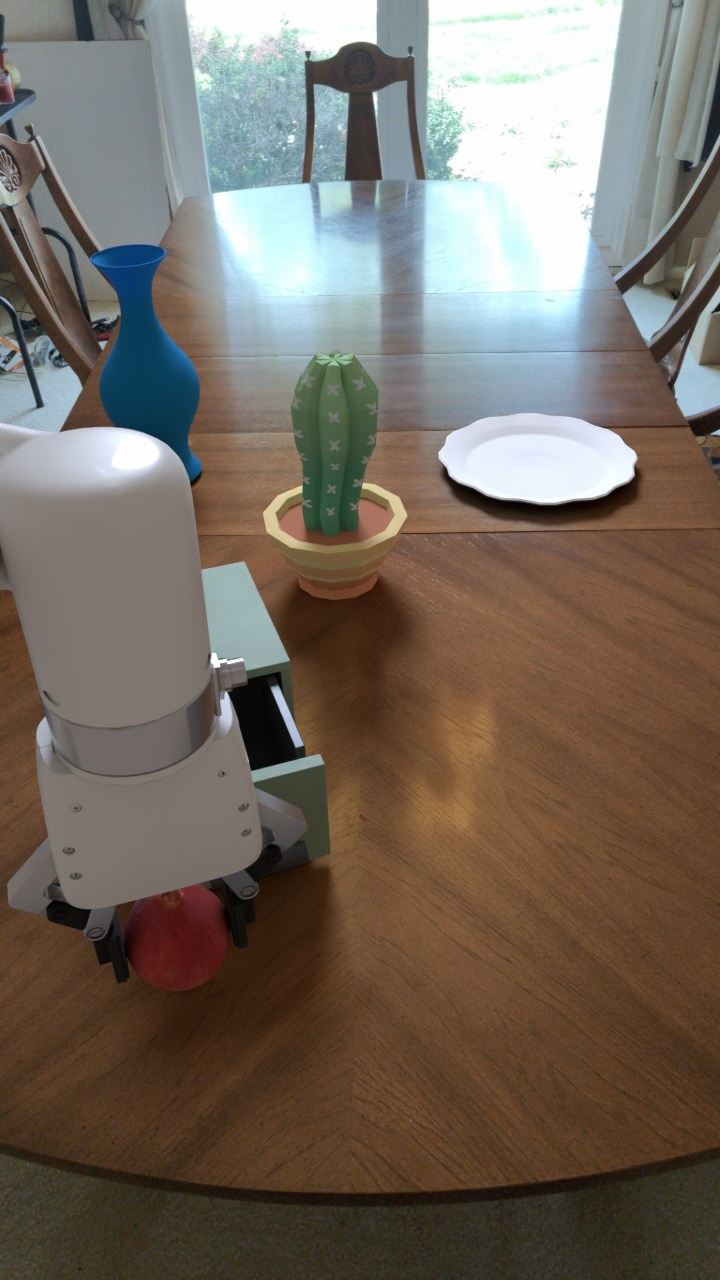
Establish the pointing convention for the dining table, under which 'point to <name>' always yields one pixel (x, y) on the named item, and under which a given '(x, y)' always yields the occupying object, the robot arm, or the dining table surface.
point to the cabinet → (244, 626)
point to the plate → (538, 459)
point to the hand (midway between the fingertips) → (178, 942)
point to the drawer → (282, 765)
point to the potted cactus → (335, 484)
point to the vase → (146, 358)
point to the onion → (177, 937)
